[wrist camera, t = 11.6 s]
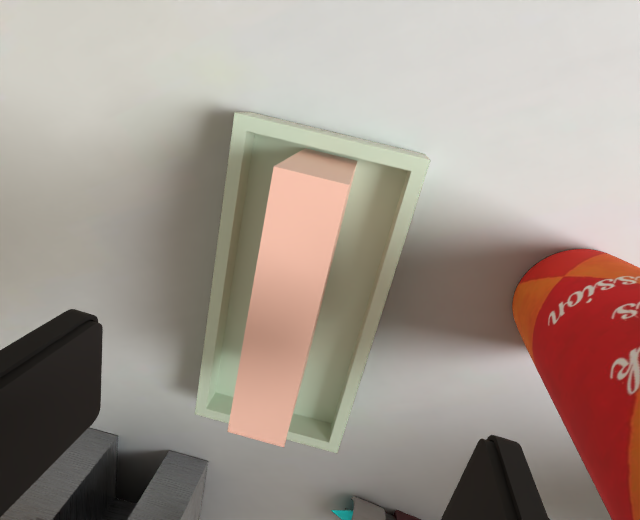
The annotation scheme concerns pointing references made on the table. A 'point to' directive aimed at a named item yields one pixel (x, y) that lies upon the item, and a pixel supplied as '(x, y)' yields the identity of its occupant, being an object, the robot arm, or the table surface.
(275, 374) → the pink rectangular block
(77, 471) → the dispenser
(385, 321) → the table surface
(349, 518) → the toy gun
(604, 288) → the paper cup
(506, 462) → the robot arm
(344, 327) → the tray
